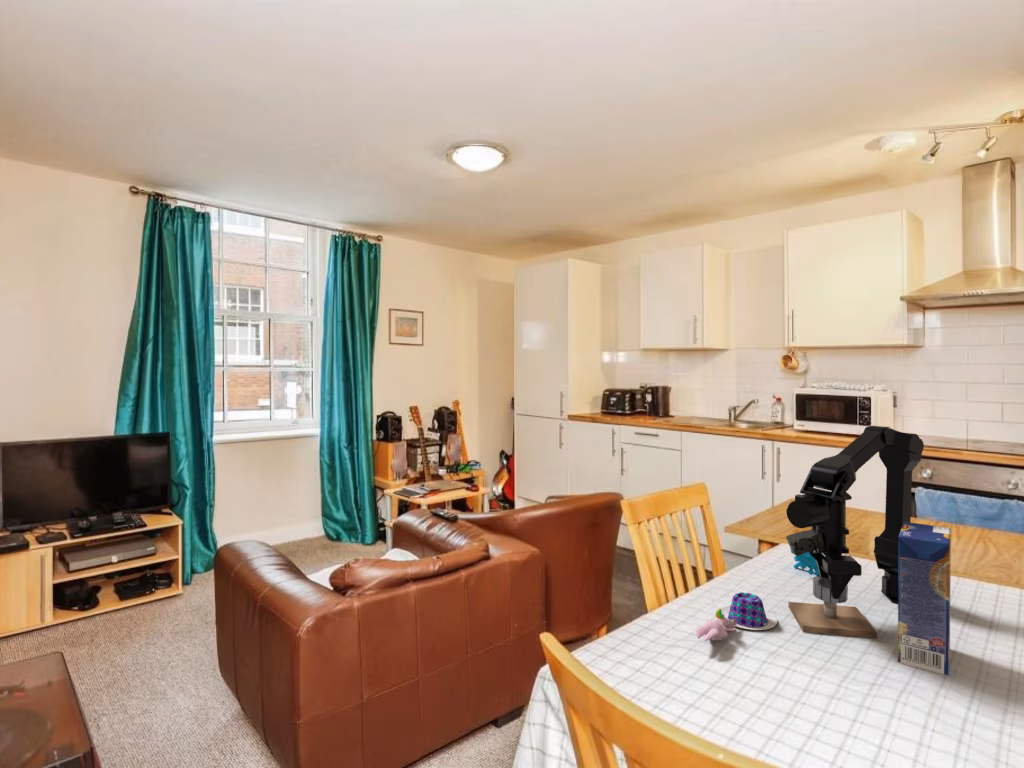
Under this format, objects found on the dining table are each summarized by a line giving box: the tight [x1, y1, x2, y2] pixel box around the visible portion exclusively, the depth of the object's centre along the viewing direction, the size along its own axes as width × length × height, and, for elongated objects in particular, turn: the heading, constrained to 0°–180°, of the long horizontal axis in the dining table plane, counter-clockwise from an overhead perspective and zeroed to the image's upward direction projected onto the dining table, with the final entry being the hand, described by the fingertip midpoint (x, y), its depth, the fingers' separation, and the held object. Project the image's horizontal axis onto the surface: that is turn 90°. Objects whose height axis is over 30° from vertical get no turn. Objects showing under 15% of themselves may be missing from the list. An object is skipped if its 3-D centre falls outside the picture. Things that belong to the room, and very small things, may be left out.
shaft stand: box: [787, 601, 878, 639], centre depth 121 cm, size 14×12×6 cm
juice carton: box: [897, 522, 952, 676], centre depth 106 cm, size 12×8×24 cm, turn 141°
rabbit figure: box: [695, 608, 738, 642], centre depth 114 cm, size 6×6×15 cm
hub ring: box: [812, 576, 849, 604], centre depth 121 cm, size 6×6×3 cm
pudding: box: [720, 592, 778, 631], centre depth 123 cm, size 12×12×5 cm
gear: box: [790, 550, 820, 577], centre depth 151 cm, size 11×6×10 cm
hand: (830, 592), depth 121 cm, fingers closed on hub ring, 6 cm apart
